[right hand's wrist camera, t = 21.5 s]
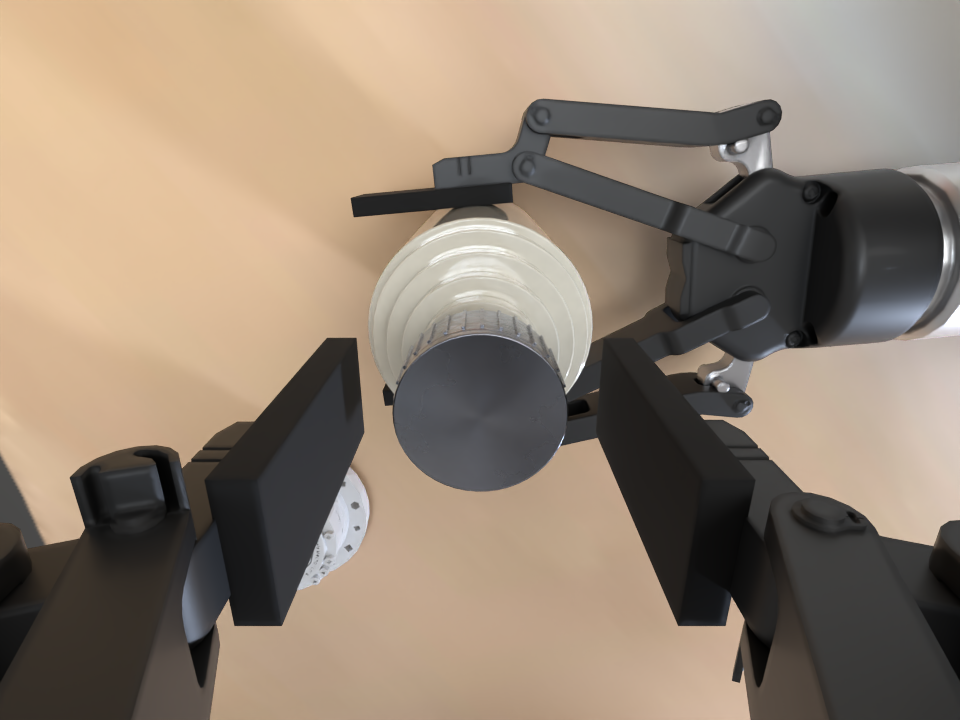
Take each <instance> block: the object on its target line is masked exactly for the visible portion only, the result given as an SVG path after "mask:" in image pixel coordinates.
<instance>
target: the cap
mask: <svg viewBox="0 0 960 720" xmlns="http://www.w3.org/2000/svg"><path fill="white" fill-rule="evenodd" d="M396 384H397V388H396V391H395V394H394V396H393V423H394V428H395V432H396V435H397V438H398V440H399V443H400V445H401V446H402V448H403V450H404V452H405V453H406V455H407V456H408V457H409V459H410V460H411V461H412V462H413V463H414V464H415V465H416V466H417V467H418V468H419V469H420V470H421V471H422V472H424V473H425V474H426V475H428V476H429V477H431V478H433V479H434V480H436V481H438V482H440V483H442V484H444V485H447V486H450V487H453V488H457V489H461V490H467V491H494V490H500V489H504V488H508V487H511V486H514V485H516V484H519V483H521V482H523V481H525V480H527V479H529V478H530V477H532V476H533V475H535V474H536V473H537V472H539V471H540V470H541V469H542V468H543V467H544V466H545V465H546V464H547V463H548V462H549V461H550V460H551V459H552V457H553V456H554V454H555V453H556V451H557V450H558V448H559V446H560V444H561V442H562V440H563V437H564V434H565V431H566V427H567V422H568V399H567V397H566V393H565V389H564V388H565V387H566V385H565V382H564V380H563V377H562V374H561V372H560V369H559V367H558V364H557V362H556V359H555V357H554V354H553V351H552V349H551V348H550V349H548V347H547V345H546V343H545V340H544V338H543V336H542V335H540V336H539V335H538V334H537V333H536V332H535V331H534V330H533V329H532V326H531V325H530V324H528V325H527V324H525V323H524V322H522V321H520V320H518V319H517V316H515V315H514V317H512V316H510V315H507V314H504V313H501V311H499V310H498V311H497V312H496V311H488V310H484V308H481V309H480V310H472V311H467V310H463V312H461V313H457V314H454V315H451V316H450V314H449V315H447V316H446V318H444V319H442V320H440V321H439V322H437V323H435V322H434V323H432V325H431V327H430V328H429V329H428V330H426V331H425V333H424V334H423V333H421V334H420V335H419V338H418V341H417V342H416V343H415V345H414V346H412V345H411V347H410V349H409V352H408V355H407V357H406V360H404V363H403V365H402V368H401V371H400V373H399V376H398V379H397V381H396Z"/></svg>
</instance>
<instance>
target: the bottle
mask: <svg viewBox="0 0 960 720" xmlns="http://www.w3.org/2000/svg"><path fill="white" fill-rule="evenodd" d="M481 308H484V310H488V311H496V312H497V311H498V310H499V311H501V313H504V314H507V315H510V316H512V317H514V315H515V316H517V319H518V320H520V321H522V322H524V323H525V324H527V325H528V324H530V325H531V326H532V329H533V330H534V331H535V332H536V333H537V334H538V335H539V336H540V335H542V336H543V338H544V340H545V343H546V345H547V347H548V349H550V348H551V349H552V351H553V354H554V357H555V359H556V362H557V364H558V367H559V369H560V372H561V374H562V377H563V380H564V382H565V385H566V387H565V388H564V389H565V393H566V394H567V393H568V392H569V390H570V389H571V387H572V386H573V385H574V383H575V382H576V381H577V379H578V377H579V375H580V373H581V371H582V369H583V367H584V365H585V362H586V359H587V357H588V354H589V349H590V345H591V339H592V329H593V325H592V311H591V305H590V300H589V297H588V294H587V290H586V287H585V285H584V283H583V281H582V279H581V277H580V275H579V273H578V271H577V270H576V268H575V267H574V265H573V264H572V262H571V261H570V260H569V259H568V257H567V256H566V255H565V254H564V253H563V252H562V251H561V250H560V249H559V247H558V246H557V245H556V244H555V243H554V242H553V241H552V240H551V239H550V238H549V236H548V235H547V234H546V233H545V232H544V231H543V230H542V229H541V228H540V227H539V225H538V224H537V223H536V222H535V221H534V220H533V219H532V218H531V217H530V215H529V214H528V213H526V212H525V211H524V210H523V209H522V208H520V207H519V206H517V205H515V204H514V203H503V204H492V205H481V206H471V207H460V208H449V209H438V210H437V211H435V212H434V213H433V214H432V215H431V216H430V217H429V218H428V219H427V220H426V221H425V223H424V224H423V225H422V226H421V227H420V228H419V229H418V230H417V231H416V232H415V234H414V235H413V236H412V237H411V238H410V239H409V240H408V241H407V242H406V243H405V245H404V246H403V247H402V248H401V249H400V250H399V251H398V252H397V253H396V255H395V256H394V257H393V258H392V259H391V261H390V262H389V263H388V265H387V266H386V268H385V269H384V271H383V273H382V274H381V276H380V278H379V280H378V282H377V284H376V287H375V290H374V292H373V295H372V299H371V304H370V308H369V318H368V332H369V341H370V347H371V352H372V355H373V358H374V360H375V363H376V366H377V368H378V370H379V372H380V374H381V376H382V378H383V379H384V381H385V382H386V384H387V385H388V387H389V388H390V389H391V391H392V392H393V393H394V394H395V391H396V388H397V384H396V381H397V379H398V376H399V373H400V371H401V368H402V365H403V363H404V360H406V357H407V355H408V352H409V349H410V347H411V345H412V346H414V345H415V343H416V342H417V341H418V338H419V335H420V334H421V333H423V334H424V333H425V331H426V330H428V329H429V328H430V327H431V325H432V323H434V322H435V323H437V322H439V321H440V320H442V319H444V318H446V316H447V315H449V314H450V316H451V315H454V314H457V313H461V312H463V310H467V311H472V310H480V309H481Z"/></svg>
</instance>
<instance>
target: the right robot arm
mask: <svg viewBox="0 0 960 720" xmlns="http://www.w3.org/2000/svg"><path fill="white" fill-rule="evenodd" d="M363 434H364V422H363V410H362V399H361V387H360V375H359V363H358V351H357V339H356V338H327V339H326V340H325V341H324V342H323V343H322V344H321V345H320V347H319V348H318V349H317V350H316V351H315V352H314V354H313V355H312V356H311V357H310V358H309V359H308V361H307V362H306V363H305V364H304V365H303V366H302V367H301V369H300V370H299V371H298V372H297V373H296V374H295V376H294V377H293V378H292V379H291V380H290V381H289V382H288V384H287V385H286V386H285V387H284V388H283V389H282V391H281V392H280V393H279V394H278V395H277V396H276V398H275V399H274V400H273V401H272V402H271V403H270V404H269V406H268V407H267V408H266V409H265V410H264V411H263V413H262V414H261V415H260V416H259V417H258V418H257V419H256V421H255V422H236V423H234V424H233V425H231V426H229V427H227V428H225V429H224V430H222V431H220V432H218V433H216V434H215V435H214V436H213V437H212V438H211V439H210V441H209V442H208V443H207V444H206V445H205V446H204V447H203V450H200V451H199V452H198V453H197V454H196V455H195V456H194V457H193V458H192V459H191V460H192V461H191V462H188V463H187V464H186V465H185V466H184V467H183V468H181V463H180V459H179V454H178V453H177V452H176V451H174V450H173V449H171V448H169V447H163V446H157V445H154V446H138V447H133V448H128V449H124V450H119V451H115V452H113V453H110V454H107V455H104V456H102V457H99V458H96V459H95V460H93V461H91V462H89V463H87V464H86V465H84V466H82V467H80V468H79V469H78V470H77V471H76V472H75V473H74V474H73V475H72V476H71V477H70V480H71V483H72V486H73V490H74V493H75V496H76V499H77V503H78V506H79V509H80V512H81V516H82V519H83V522H84V525H85V530H84V532H83V533H82V535H81V537H80V539H76V540H70V541H65V542H60V543H55V544H50V545H44V546H39V547H34V548H29V549H27V547H26V544H25V541H24V539H23V536H22V533H21V530H20V529H19V528H17V527H16V526H14V525H13V524H10V523H0V720H210V713H211V705H212V698H213V691H214V684H215V677H216V670H217V662H218V655H219V648H220V641H219V634H218V629H217V625H216V620H217V618H218V616H219V615H220V613H221V611H222V609H223V608H224V606H225V604H226V602H227V601H228V599H229V602H230V606H231V611H232V616H233V621H234V626H282V624H283V622H284V619H285V617H286V615H287V612H288V610H289V608H290V605H291V603H292V601H293V598H294V596H295V594H296V591H297V589H298V587H299V584H300V582H301V580H302V577H303V575H304V572H305V570H306V568H307V565H308V563H309V561H310V558H311V556H312V554H313V551H314V549H315V547H316V544H317V542H318V540H319V537H320V535H321V533H322V530H323V528H324V526H325V523H326V521H327V519H328V516H329V514H330V512H331V509H332V507H333V505H334V502H335V500H336V497H337V495H338V493H339V490H340V488H341V486H342V483H343V481H344V479H345V476H346V474H347V472H348V469H349V467H350V465H351V462H352V460H353V458H354V455H355V453H356V451H357V448H358V446H359V444H360V441H361V439H362V437H363ZM596 434H597V437H598V439H599V441H600V444H601V446H602V448H603V451H604V453H605V455H606V458H607V460H608V462H609V465H610V467H611V469H612V472H613V474H614V476H615V479H616V481H617V483H618V486H619V488H620V490H621V493H622V495H623V497H624V500H625V502H626V505H627V507H628V509H629V512H630V514H631V516H632V519H633V521H634V523H635V526H636V528H637V530H638V533H639V535H640V537H641V540H642V542H643V544H644V547H645V549H646V551H647V554H648V556H649V558H650V561H651V563H652V565H653V568H654V570H655V572H656V575H657V577H658V580H659V582H660V584H661V587H662V589H663V591H664V594H665V596H666V598H667V601H668V603H669V605H670V608H671V610H672V612H673V615H674V617H675V619H676V622H677V624H678V626H726V621H727V616H728V611H729V606H730V602H731V597H732V598H733V600H734V601H735V603H736V605H737V606H738V608H739V610H740V612H741V613H742V615H743V617H744V619H745V621H744V625H743V629H742V634H741V638H740V643H739V647H738V652H737V656H736V661H735V665H734V670H733V677H732V681H735V682H739V683H740V680H741V675H742V671H743V670H744V675H745V682H746V690H747V697H748V704H749V711H750V718H751V720H960V520H956V521H949V522H947V523H946V524H944V525H943V526H941V527H940V530H939V533H938V536H937V539H936V541H935V544H934V546H929V545H924V544H919V543H913V542H908V541H903V540H898V539H892V538H887V537H883V536H879V534H878V532H877V531H876V529H875V527H874V526H873V525H872V524H871V523H870V521H869V520H868V519H867V518H866V517H865V516H864V515H862V514H861V513H859V512H858V511H856V510H855V509H853V508H852V507H850V506H848V505H846V504H844V503H841V502H839V501H837V500H834V499H832V498H829V497H825V496H821V495H817V494H813V493H805V492H803V491H802V490H801V489H800V488H799V487H798V486H797V485H796V484H795V483H794V482H793V481H792V480H791V479H790V478H789V477H788V476H787V475H786V474H785V473H784V472H783V471H782V470H781V469H780V468H779V467H778V466H777V465H776V464H775V463H774V462H773V461H772V460H769V457H768V456H767V455H766V454H765V453H764V452H763V451H762V449H761V448H758V445H757V444H756V443H755V442H754V441H753V440H752V439H751V438H750V437H749V436H748V435H747V434H746V433H745V432H744V431H742V430H740V429H738V428H736V427H735V426H733V425H731V424H729V423H727V422H725V421H724V420H704V419H703V418H702V417H701V416H700V415H699V414H698V413H697V411H696V410H695V409H694V408H693V407H692V406H691V404H690V403H689V402H688V401H687V400H686V399H685V398H684V396H683V395H682V394H681V393H680V392H679V391H678V389H677V388H676V387H675V386H674V385H673V384H672V382H671V381H670V380H669V379H668V378H667V377H666V376H665V374H664V373H663V372H662V371H661V370H660V369H659V367H658V366H657V365H656V364H655V363H654V362H653V361H652V359H651V358H650V357H649V356H648V355H647V354H646V352H645V351H644V350H643V349H642V348H641V347H640V345H639V344H638V343H637V342H636V341H635V340H634V339H633V338H604V339H603V351H602V363H601V375H600V387H599V399H598V410H597V422H596Z"/></svg>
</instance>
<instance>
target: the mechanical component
mask: <svg viewBox="0 0 960 720" xmlns="http://www.w3.org/2000/svg"><path fill="white" fill-rule="evenodd" d="M369 514H370V513H369V500H368V497H367V493H366V490H365V487H364V485H363V484H362V482H361V480H360V479H359V477H358V475H357V474H356V473H355V472H354V471H353V470H352V469H351V468H350V467H349V469H348V472H347V474H346V476H345V479H344V481H343V483H342V486H341V488H340V490H339V493H338V495H337V497H336V500H335V502H334V505H333V507H332V509H331V512H330V514H329V516H328V519H327V521H326V523H325V526H324V528H323V530H322V533H321V535H320V537H319V540H318V542H317V544H316V547H315V549H314V551H313V554H312V556H311V558H310V561H309V563H308V565H307V568H306V570H305V572H304V575H303V577H302V580H301V582H300V584H299V587H298V589H297V590H301V589H304V588H306V587H309V586H311V585H317V584H319V583H320V580H321V579H322V578H323V577H324V576H327V575H328V573H329V572H330V571H333V570H335V569H337V568H338V567H340V566H341V565H342V564H344V563H345V562H347V561H348V560H349V559H350V558H351V557H352V556H353V555H354V554H355V552H356V551H357V550H358V548H359V546H360V544H361V542H362V540H363V538H364V536H365V532H366V529H367V524H368V519H369Z"/></svg>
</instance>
